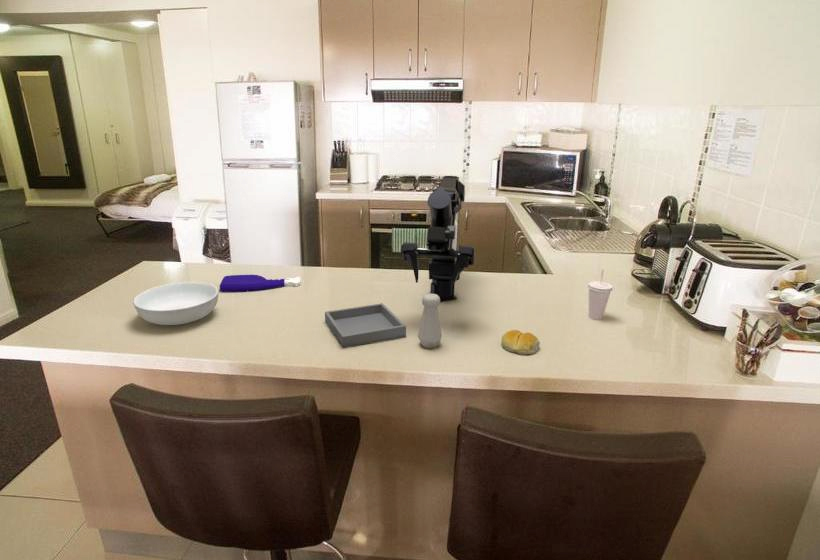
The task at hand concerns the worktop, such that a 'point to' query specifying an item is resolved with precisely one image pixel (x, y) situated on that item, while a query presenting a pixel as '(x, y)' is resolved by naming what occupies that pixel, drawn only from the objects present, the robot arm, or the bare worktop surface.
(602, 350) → the worktop surface
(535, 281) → the worktop surface
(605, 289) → the smoothie
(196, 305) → the serving bowl
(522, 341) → the bread roll
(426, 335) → the salt shaker
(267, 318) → the worktop surface
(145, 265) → the worktop surface
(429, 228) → the robot arm
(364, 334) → the tray
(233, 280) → the spray bottle
